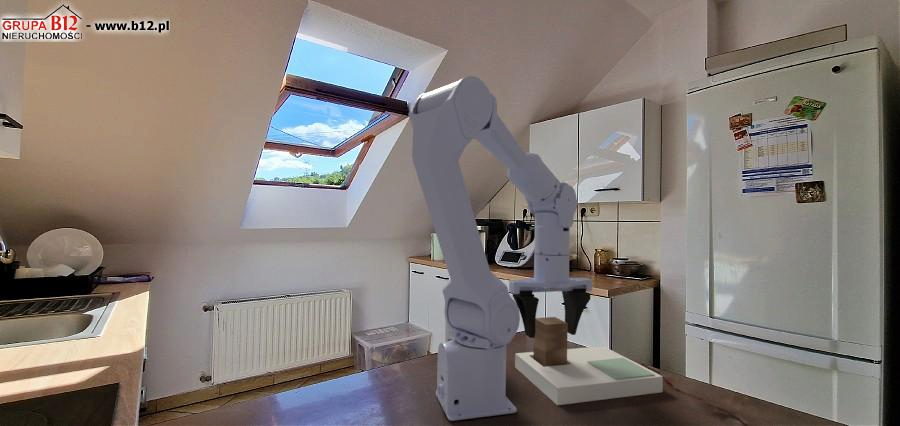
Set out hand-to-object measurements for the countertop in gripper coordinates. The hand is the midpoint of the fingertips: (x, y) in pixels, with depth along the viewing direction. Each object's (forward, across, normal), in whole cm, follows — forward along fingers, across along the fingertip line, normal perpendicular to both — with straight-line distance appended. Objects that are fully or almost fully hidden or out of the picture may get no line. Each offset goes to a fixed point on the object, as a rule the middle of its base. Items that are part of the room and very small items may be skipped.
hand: (550, 334), depth 65 cm
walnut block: (+7, 0, 0) cm, 7 cm away
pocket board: (+7, +4, -3) cm, 8 cm away
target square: (+4, +9, -6) cm, 12 cm away
